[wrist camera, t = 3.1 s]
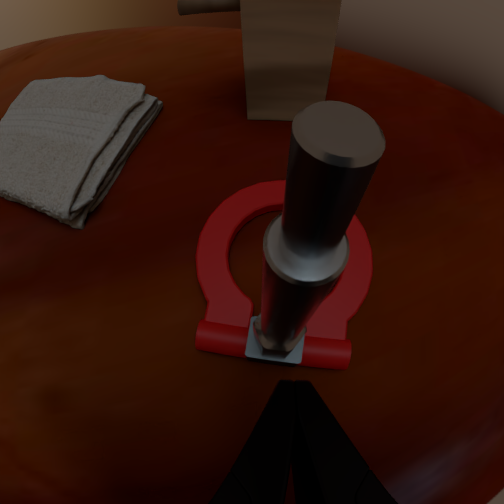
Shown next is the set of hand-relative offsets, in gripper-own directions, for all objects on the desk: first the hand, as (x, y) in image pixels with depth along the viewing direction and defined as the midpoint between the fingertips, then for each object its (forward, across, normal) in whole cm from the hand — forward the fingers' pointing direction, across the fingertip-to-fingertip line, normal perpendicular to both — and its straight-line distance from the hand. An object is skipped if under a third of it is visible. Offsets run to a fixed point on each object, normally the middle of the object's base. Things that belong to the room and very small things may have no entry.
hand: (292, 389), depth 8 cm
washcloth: (+16, +19, -6) cm, 25 cm away
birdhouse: (+18, +2, -9) cm, 20 cm away
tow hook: (+9, 0, +1) cm, 9 cm away
